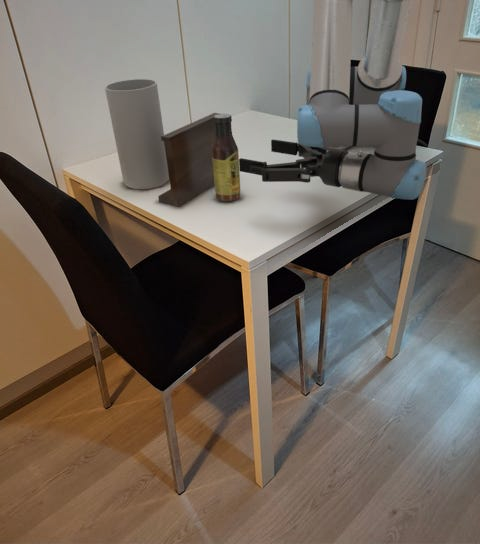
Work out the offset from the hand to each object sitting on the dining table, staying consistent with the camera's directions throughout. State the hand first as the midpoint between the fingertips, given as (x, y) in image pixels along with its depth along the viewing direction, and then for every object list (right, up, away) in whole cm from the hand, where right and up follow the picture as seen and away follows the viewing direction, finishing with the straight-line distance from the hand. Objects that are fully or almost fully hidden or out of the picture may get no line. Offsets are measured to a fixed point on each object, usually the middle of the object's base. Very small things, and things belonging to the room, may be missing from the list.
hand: (256, 154), depth 109 cm
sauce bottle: (-7, -8, +11) cm, 15 cm away
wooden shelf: (-16, -5, +16) cm, 23 cm away
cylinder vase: (-29, -2, +22) cm, 37 cm away
